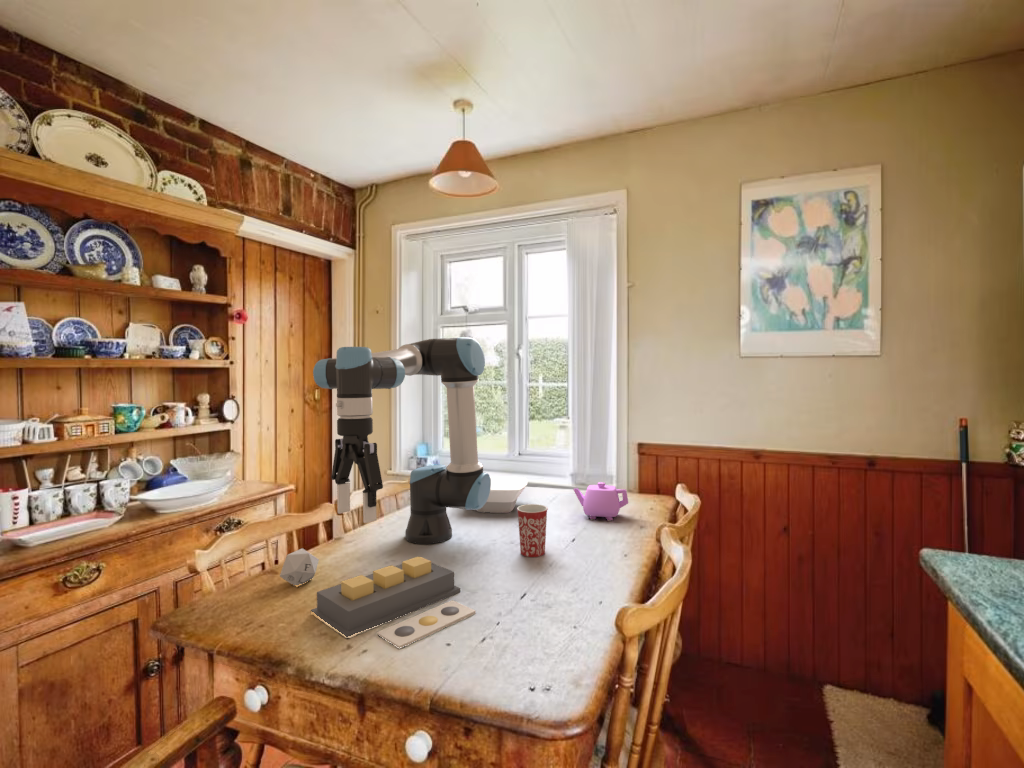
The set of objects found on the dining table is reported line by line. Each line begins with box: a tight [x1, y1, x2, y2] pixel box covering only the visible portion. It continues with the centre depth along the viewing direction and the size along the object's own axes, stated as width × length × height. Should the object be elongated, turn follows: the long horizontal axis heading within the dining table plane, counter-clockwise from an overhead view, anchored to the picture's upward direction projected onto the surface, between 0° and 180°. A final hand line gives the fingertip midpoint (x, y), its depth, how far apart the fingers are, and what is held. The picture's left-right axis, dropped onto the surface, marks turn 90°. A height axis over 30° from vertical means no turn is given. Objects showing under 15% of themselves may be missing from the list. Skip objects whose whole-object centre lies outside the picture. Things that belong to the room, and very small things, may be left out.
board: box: [310, 562, 461, 637], centre depth 119 cm, size 16×30×5 cm, turn 137°
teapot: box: [573, 481, 629, 521], centre depth 188 cm, size 20×12×13 cm, turn 75°
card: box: [376, 599, 477, 648], centre depth 108 cm, size 8×20×1 cm, turn 137°
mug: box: [516, 503, 549, 558], centre depth 152 cm, size 13×9×14 cm
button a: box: [340, 574, 374, 601], centre depth 113 cm, size 5×5×4 cm
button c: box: [401, 556, 432, 578], centre depth 124 cm, size 5×5×4 cm
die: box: [279, 547, 320, 586], centre depth 131 cm, size 8×9×10 cm
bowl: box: [476, 476, 528, 514], centre depth 202 cm, size 24×25×10 cm
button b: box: [372, 564, 404, 589], centre depth 119 cm, size 5×5×4 cm
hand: (356, 516), depth 113 cm, fingers open, 10 cm apart
